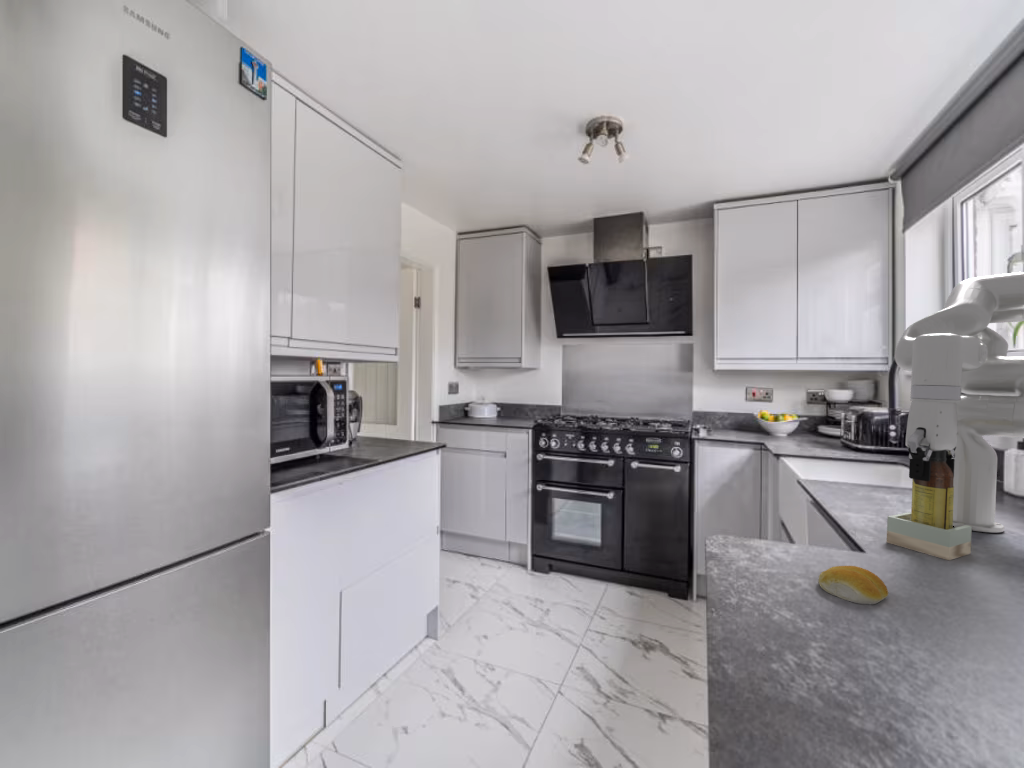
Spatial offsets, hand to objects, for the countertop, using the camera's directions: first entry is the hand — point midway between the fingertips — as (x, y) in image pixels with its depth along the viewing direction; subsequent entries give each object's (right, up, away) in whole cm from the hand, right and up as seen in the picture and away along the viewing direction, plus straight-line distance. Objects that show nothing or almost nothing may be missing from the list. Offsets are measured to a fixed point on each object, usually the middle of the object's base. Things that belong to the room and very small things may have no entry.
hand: (931, 478), depth 91 cm
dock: (-1, -14, 0) cm, 14 cm away
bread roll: (-32, -14, -21) cm, 41 cm away
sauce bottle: (0, -12, 0) cm, 12 cm away
